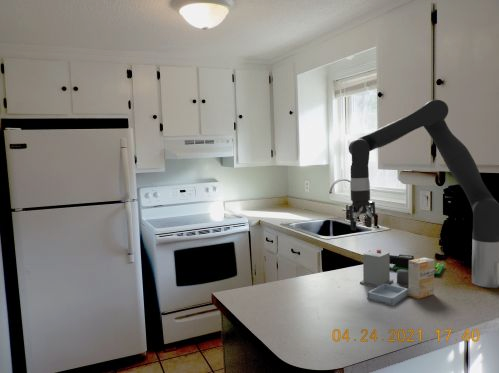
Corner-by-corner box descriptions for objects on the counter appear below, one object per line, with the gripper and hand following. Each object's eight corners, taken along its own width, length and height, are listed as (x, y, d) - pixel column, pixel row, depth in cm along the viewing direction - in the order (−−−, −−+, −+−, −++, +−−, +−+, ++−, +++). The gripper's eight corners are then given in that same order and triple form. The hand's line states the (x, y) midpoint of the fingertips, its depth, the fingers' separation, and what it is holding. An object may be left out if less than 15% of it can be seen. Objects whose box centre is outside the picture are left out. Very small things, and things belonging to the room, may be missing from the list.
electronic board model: (444, 252, 175) (439, 260, 163) (444, 267, 176) (439, 277, 163) (376, 245, 192) (366, 252, 179) (376, 259, 192) (366, 267, 180)
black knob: (410, 283, 157) (410, 270, 157) (405, 286, 154) (405, 273, 154) (400, 280, 161) (400, 268, 160) (394, 283, 158) (394, 271, 157)
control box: (393, 282, 159) (393, 250, 158) (381, 288, 152) (380, 255, 151) (372, 277, 166) (372, 246, 165) (359, 283, 159) (359, 251, 158)
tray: (408, 295, 145) (408, 288, 144) (392, 305, 136) (392, 298, 136) (383, 289, 151) (383, 283, 151) (367, 298, 143) (367, 292, 142)
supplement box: (419, 299, 140) (419, 263, 139) (407, 295, 145) (407, 260, 144) (434, 295, 144) (435, 259, 143) (423, 291, 148) (423, 256, 147)
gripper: (354, 191, 154) (355, 232, 155) (379, 187, 161) (380, 227, 163) (340, 190, 160) (341, 230, 162) (365, 187, 168) (366, 225, 169)
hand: (361, 228), depth 162 cm, fingers open, 8 cm apart
